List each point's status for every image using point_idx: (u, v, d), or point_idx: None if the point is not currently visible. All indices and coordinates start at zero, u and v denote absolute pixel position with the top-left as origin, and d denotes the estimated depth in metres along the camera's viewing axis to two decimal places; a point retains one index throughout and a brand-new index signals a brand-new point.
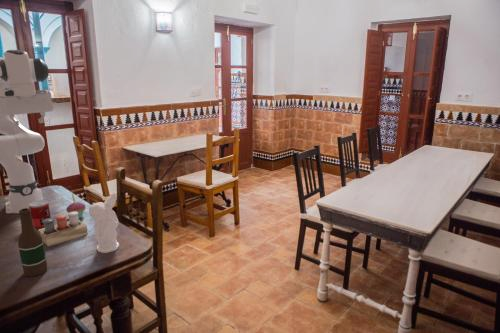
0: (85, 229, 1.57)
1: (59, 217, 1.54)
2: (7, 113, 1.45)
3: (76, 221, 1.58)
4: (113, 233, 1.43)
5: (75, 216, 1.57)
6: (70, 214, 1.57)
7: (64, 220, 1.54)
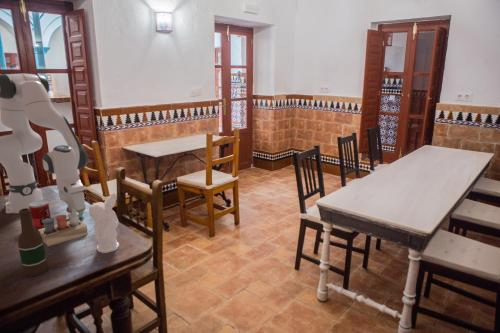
0: (85, 229, 1.57)
1: (59, 217, 1.54)
2: None
3: (76, 221, 1.58)
4: (113, 233, 1.43)
5: (75, 216, 1.57)
6: (70, 214, 1.57)
7: (64, 220, 1.54)
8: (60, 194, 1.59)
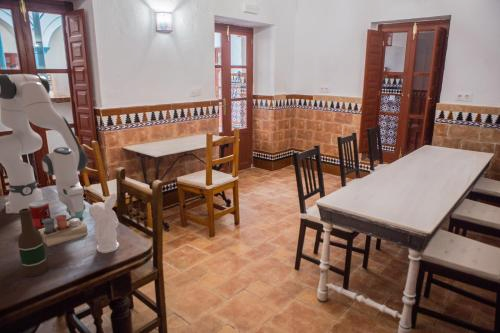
0: (85, 229, 1.57)
1: (59, 217, 1.54)
2: None
3: None
4: (113, 233, 1.43)
5: (76, 223, 1.58)
6: (71, 221, 1.58)
7: (64, 220, 1.54)
8: (60, 195, 1.59)
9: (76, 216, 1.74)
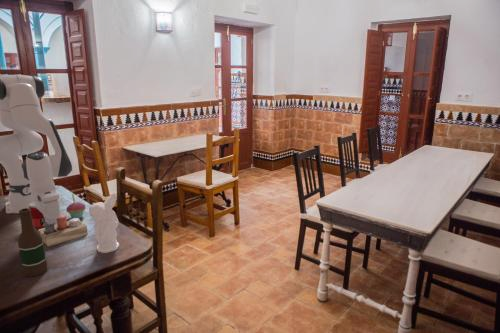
0: (85, 229, 1.57)
1: (59, 217, 1.54)
2: None
3: None
4: (113, 233, 1.43)
5: (76, 223, 1.58)
6: (71, 221, 1.58)
7: (64, 220, 1.54)
8: (36, 202, 1.52)
9: (76, 216, 1.74)
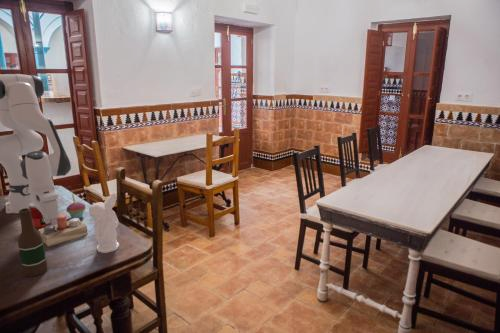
0: (85, 229, 1.57)
1: (59, 217, 1.54)
2: None
3: None
4: (113, 233, 1.43)
5: (76, 223, 1.58)
6: (71, 221, 1.58)
7: (64, 220, 1.54)
8: (34, 201, 1.52)
9: (76, 216, 1.74)
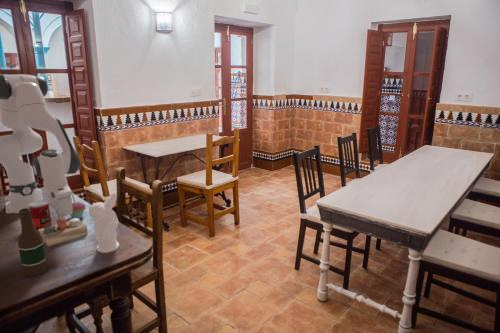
0: (85, 229, 1.57)
1: (59, 220, 1.54)
2: None
3: None
4: (113, 233, 1.43)
5: (76, 223, 1.58)
6: (71, 221, 1.58)
7: (64, 223, 1.54)
8: (48, 199, 1.56)
9: (76, 216, 1.74)
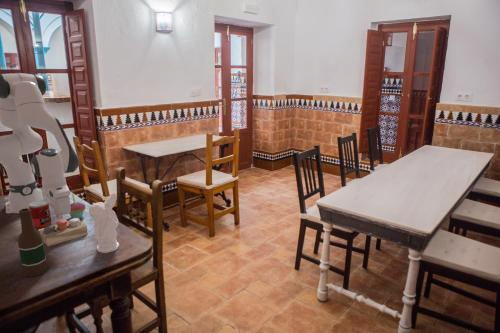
0: (85, 229, 1.57)
1: (60, 222, 1.54)
2: None
3: None
4: (113, 233, 1.43)
5: (76, 223, 1.58)
6: (71, 221, 1.58)
7: (65, 225, 1.55)
8: (47, 197, 1.56)
9: (76, 216, 1.74)
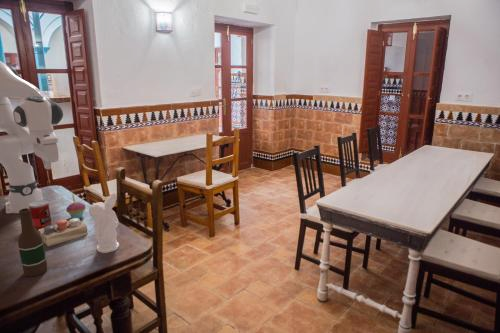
0: (85, 229, 1.57)
1: (60, 222, 1.54)
2: None
3: None
4: (113, 233, 1.43)
5: (76, 223, 1.58)
6: (71, 221, 1.58)
7: (65, 225, 1.55)
8: (35, 148, 1.55)
9: (76, 216, 1.74)
